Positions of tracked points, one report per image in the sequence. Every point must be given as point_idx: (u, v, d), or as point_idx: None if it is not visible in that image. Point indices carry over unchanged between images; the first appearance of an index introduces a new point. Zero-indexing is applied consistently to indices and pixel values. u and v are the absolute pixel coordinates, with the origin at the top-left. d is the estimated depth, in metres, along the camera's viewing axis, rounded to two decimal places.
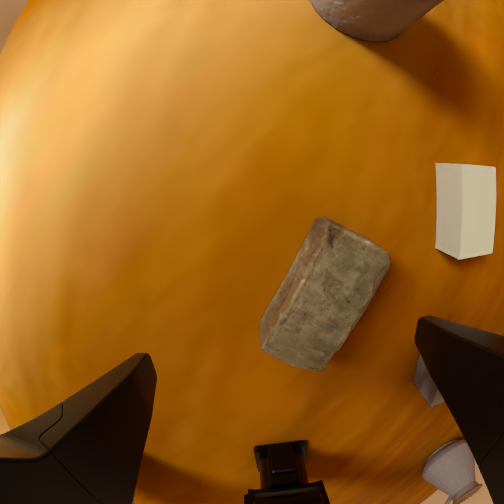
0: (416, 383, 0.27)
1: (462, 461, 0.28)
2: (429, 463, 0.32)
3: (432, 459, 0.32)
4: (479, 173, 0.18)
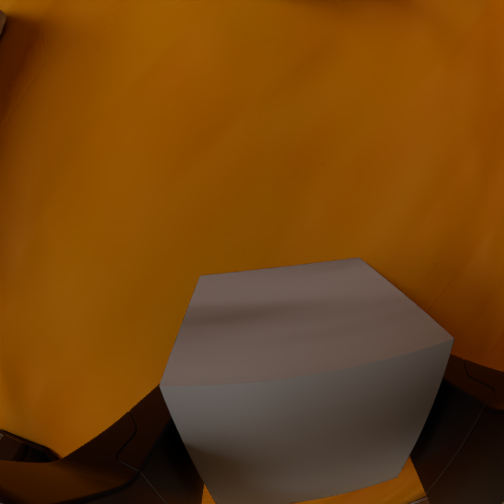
0: None
1: None
2: None
3: None
4: None
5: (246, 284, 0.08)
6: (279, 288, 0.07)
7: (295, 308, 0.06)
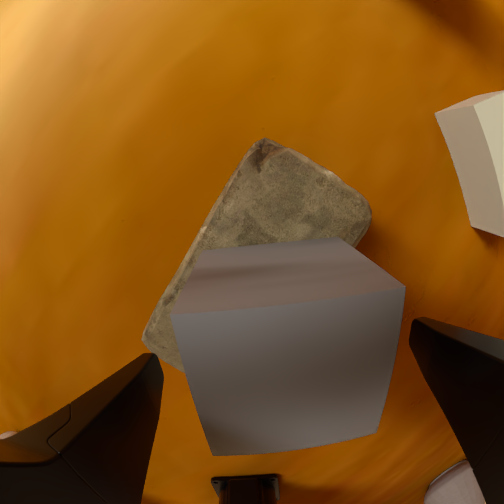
0: None
1: (471, 486, 0.20)
2: (433, 488, 0.24)
3: (436, 484, 0.24)
4: (498, 106, 0.10)
5: (240, 254, 0.09)
6: (267, 256, 0.09)
7: (278, 268, 0.08)
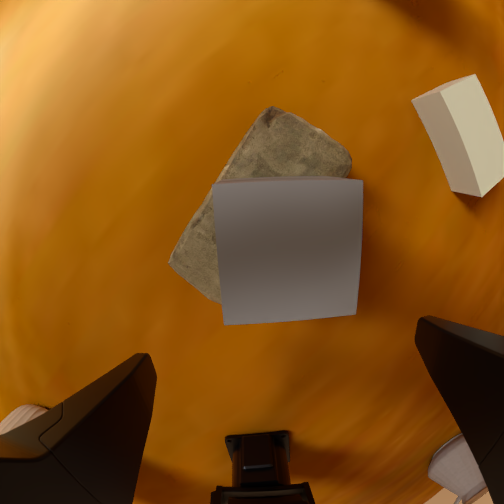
0: None
1: (473, 456, 0.23)
2: (436, 459, 0.28)
3: (439, 455, 0.28)
4: (462, 90, 0.13)
5: (252, 178, 0.13)
6: None
7: (279, 178, 0.11)
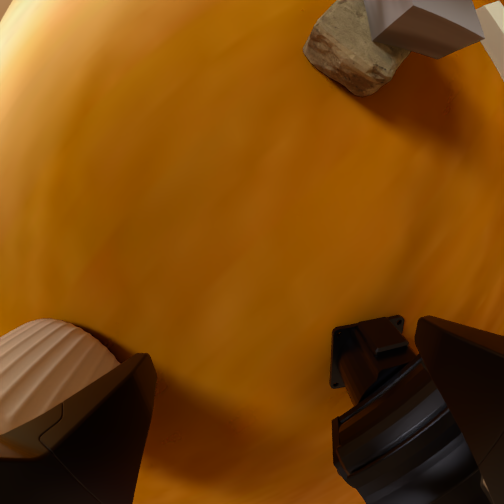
0: (377, 28, 0.11)
1: None
2: None
3: None
4: (495, 8, 0.10)
5: None
6: None
7: None
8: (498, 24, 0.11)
